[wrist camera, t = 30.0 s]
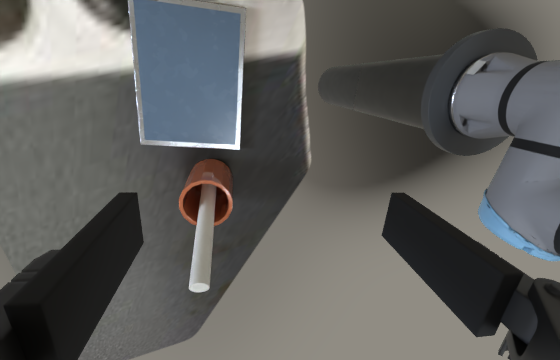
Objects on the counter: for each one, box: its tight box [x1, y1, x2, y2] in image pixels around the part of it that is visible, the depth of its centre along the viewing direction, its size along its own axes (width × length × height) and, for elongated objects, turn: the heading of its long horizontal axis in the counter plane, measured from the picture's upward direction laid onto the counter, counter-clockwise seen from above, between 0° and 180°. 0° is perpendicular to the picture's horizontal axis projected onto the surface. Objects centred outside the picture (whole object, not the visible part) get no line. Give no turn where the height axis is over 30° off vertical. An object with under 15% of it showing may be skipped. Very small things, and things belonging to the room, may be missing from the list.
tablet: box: [128, 0, 246, 150], centre depth 38 cm, size 15×20×1 cm
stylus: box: [189, 184, 217, 292], centre depth 36 cm, size 2×2×20 cm
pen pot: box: [179, 159, 233, 226], centre depth 40 cm, size 7×7×10 cm
